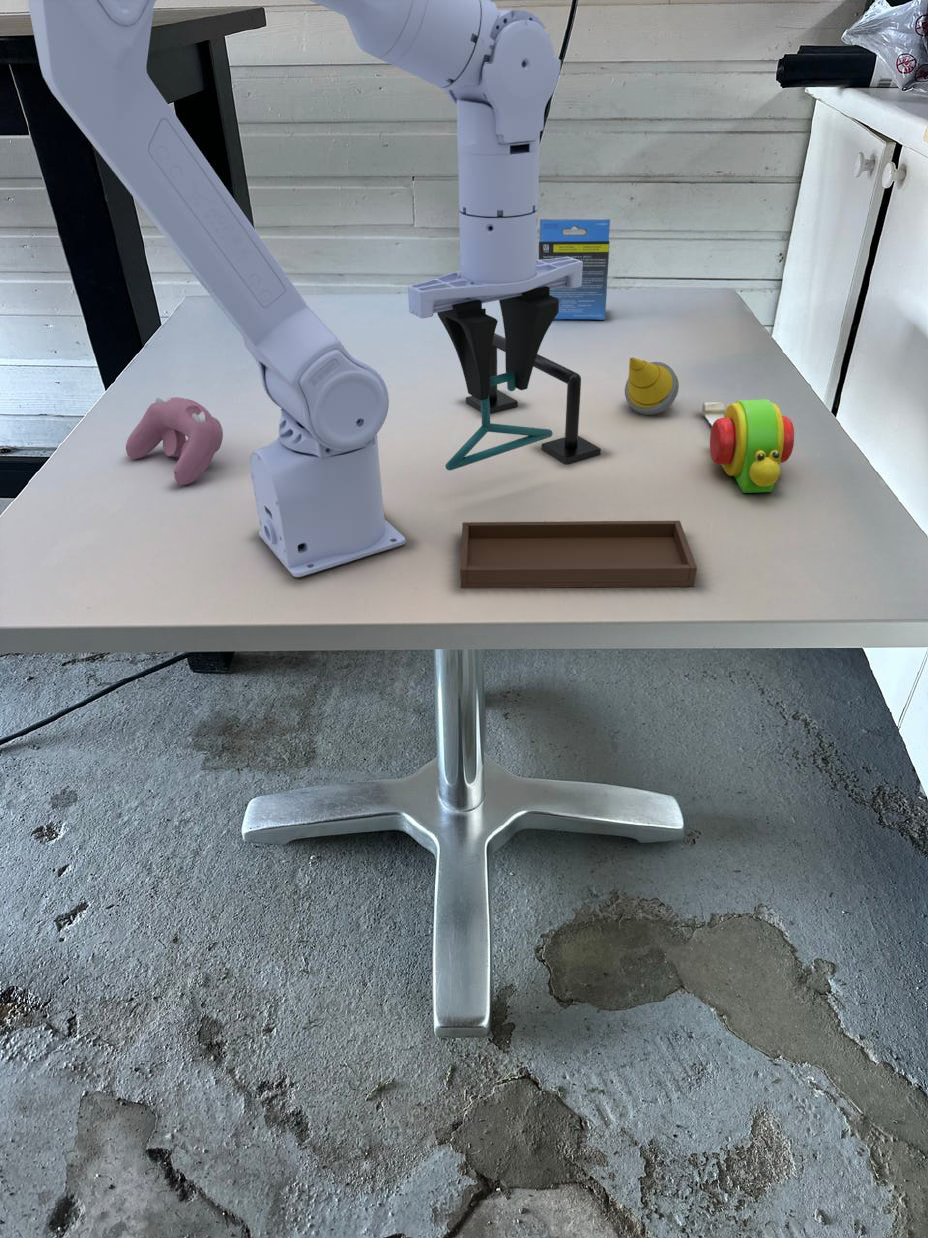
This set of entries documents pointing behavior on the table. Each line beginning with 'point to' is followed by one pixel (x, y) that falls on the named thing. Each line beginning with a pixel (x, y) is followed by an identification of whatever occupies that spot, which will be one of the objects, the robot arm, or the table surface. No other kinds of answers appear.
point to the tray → (575, 554)
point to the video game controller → (178, 436)
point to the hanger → (531, 433)
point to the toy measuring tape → (750, 441)
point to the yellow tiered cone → (650, 386)
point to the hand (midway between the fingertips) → (498, 390)
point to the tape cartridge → (595, 264)
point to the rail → (571, 444)
